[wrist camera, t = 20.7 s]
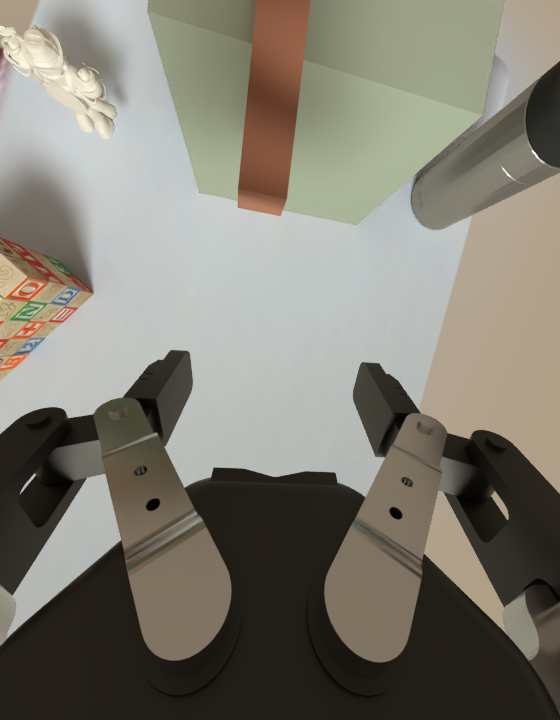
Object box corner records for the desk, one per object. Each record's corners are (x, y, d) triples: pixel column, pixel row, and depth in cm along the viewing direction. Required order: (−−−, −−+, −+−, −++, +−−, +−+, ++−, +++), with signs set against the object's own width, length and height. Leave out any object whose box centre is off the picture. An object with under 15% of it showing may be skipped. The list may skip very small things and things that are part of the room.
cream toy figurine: (56, 126, 34) (-40, 20, 22) (63, 95, 34) (-30, -29, 22) (129, 155, 36) (76, 71, 24) (136, 126, 35) (86, 27, 24)
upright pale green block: (356, 225, 42) (482, 115, 20) (199, 192, 38) (147, 11, 16) (370, 129, 40) (522, -99, 19) (209, 85, 36) (166, -273, 15)
